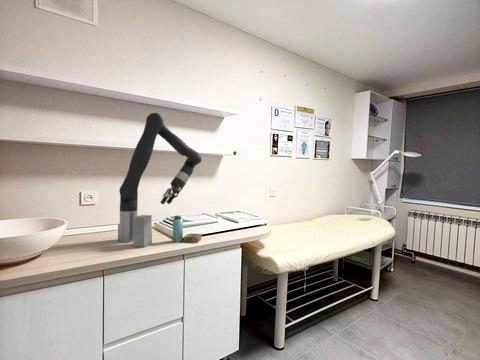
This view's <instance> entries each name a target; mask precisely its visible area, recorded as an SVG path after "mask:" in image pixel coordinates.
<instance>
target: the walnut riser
mask: <svg viewBox="0 0 480 360" xmlns="http://www.w3.org/2000/svg"><path fill="white" fill-rule="evenodd" d="M201 240H202V233H190V234H188V233H187V234H185V235H183V242H184V243H193V244H194V243H196V244H197V243H199V242H200V241H201Z"/></svg>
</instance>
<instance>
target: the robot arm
mask: <svg viewBox="0 0 480 360" xmlns="http://www.w3.org/2000/svg"><path fill="white" fill-rule="evenodd" d="M158 135H159V136H160V137H161V138H162V139H163V140H165V141H166V142H167V143H168V144H169V145H170V146H171V147H172V148H173V149H174V150H175V151H176V152H177V153H178V154H179V155H180V156H185V157H186V159H185V161H184V163H183V165H182V167H181V168H180V169H179V171H178V172H177V173H176V174H175V176H174V178H173V179H172V180H171V181H170V188H167V189H166V191H165V192H164V193H163V195H162V199H161V201H160V202H159V203H160V204H161V205H165V203H166V204H168V205H171V203H172V202H173V200H174V199H176V198H178V196H179V194H180V192H181V191H182V190H183V189H184V187H185V186H186V185H187V182H188V181H189V179H190V177H191V175H192V174H193V172H194V169H195V168H196V166H197V165H199V164H200V163H201V162H202V156H201V155H200V153H198V152H197V151H196V150H195V149H193V148H192V147H190V146H189V145H187V143H185V142H184V141H183V140H182V139H181V138H180V137H179V136H177V135H176V134H175V133H173V132H172V131H171V130H170V129H169V128H168V127H167V125H165V123H164V119H163V117H162V115H161V114H160V113H158V112H152V113H150V114H148V116H147V117H146V121H145V124H144V128H143V132H142V134H141V137H139V140H138V142H137V144H136V146H135V148H134V151H133V153H132V156H131V160H130V163H129V167H128V170H127V174H126V175H125V177H124V180H123V182H122V184H121V185H120V186H119V197H120V198H119V199H120V200H119V223H118V224H117V242H121V243H134V239H133V217H136V216H138V207H139V206H138V202H139V201H138V195H139V194H138V190H139V189H138V188H139V186H140V185H139V184H140V181H141V178H142V176H143V174H144V173H145V170H146V169H147V167H148V164H149V162H150V161H151V158H152V157H151V156H152V154H153V150H154V147H155V142H156V139H157V136H158Z"/></svg>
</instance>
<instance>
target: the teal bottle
mask: <svg viewBox="0 0 480 360" xmlns="http://www.w3.org/2000/svg"><path fill="white" fill-rule="evenodd" d="M183 234H184V218H183V217H182V215H175V216H174V218H172V242H173V243H182V242H184V235H183Z"/></svg>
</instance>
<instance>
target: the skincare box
mask: <svg viewBox="0 0 480 360" xmlns="http://www.w3.org/2000/svg"><path fill="white" fill-rule="evenodd" d="M152 218H153V216H152V215H151V214H150V215H147V214H145V215H144V214H141V215H137V216H136V217H133V239H134V241H133V247H139V248H145V247H147V246H149V245H151V244H153V233H152V232H153V229H152V228H153V227H152V226H153V225H152V224H153V223H152V222H153V221H152V220H153V219H152Z"/></svg>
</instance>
